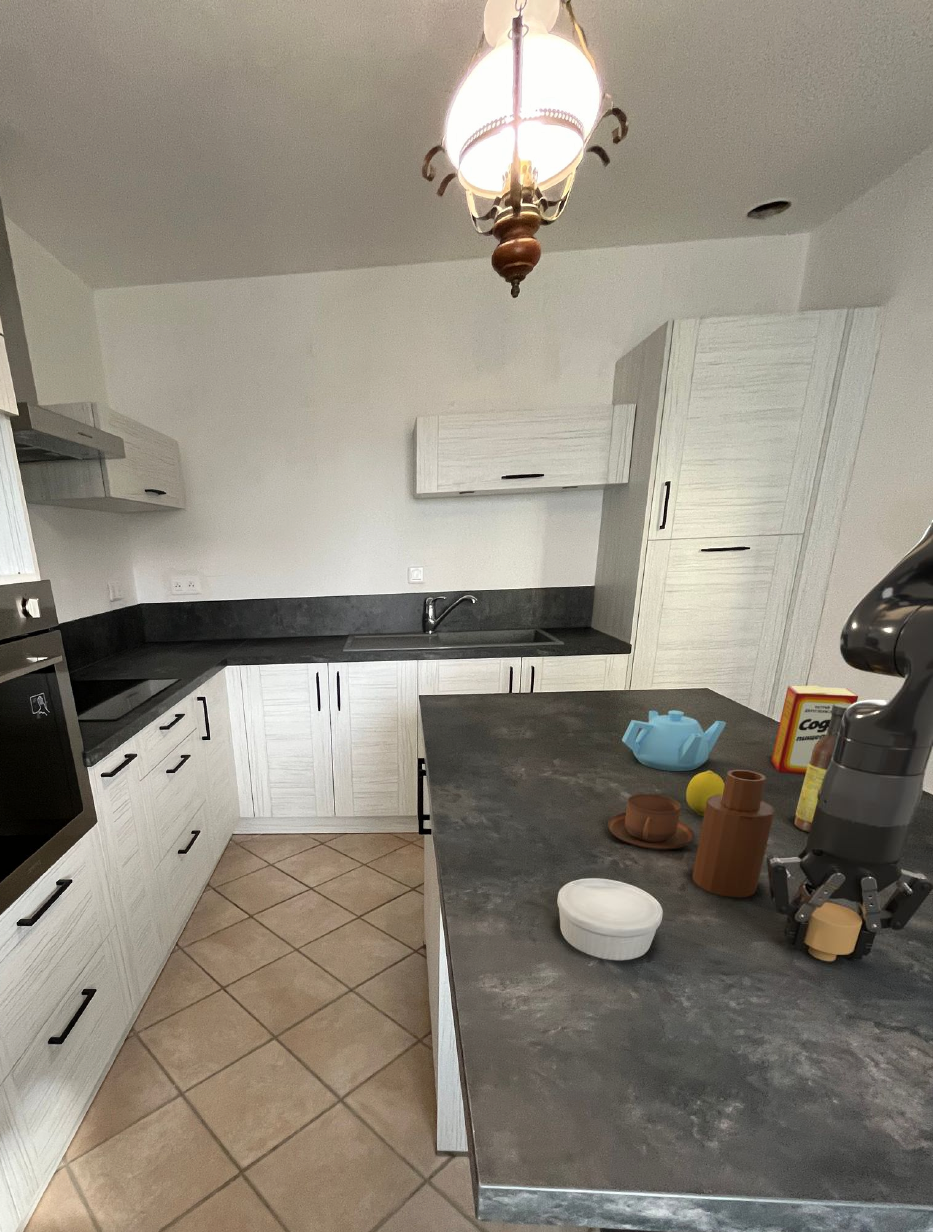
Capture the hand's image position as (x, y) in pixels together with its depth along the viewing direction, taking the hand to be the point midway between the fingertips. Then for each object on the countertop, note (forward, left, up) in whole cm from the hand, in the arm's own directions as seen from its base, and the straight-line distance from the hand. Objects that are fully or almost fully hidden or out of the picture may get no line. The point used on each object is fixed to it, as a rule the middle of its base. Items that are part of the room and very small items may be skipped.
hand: (823, 949), depth 67 cm
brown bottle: (+7, -14, -1) cm, 16 cm away
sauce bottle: (-10, -38, -2) cm, 39 cm away
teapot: (+8, -67, -2) cm, 67 cm away
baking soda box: (-16, -69, -2) cm, 71 cm away
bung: (0, 0, -1) cm, 1 cm away
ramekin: (+22, +3, -2) cm, 22 cm away
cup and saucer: (+15, -27, -2) cm, 31 cm away
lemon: (+6, -39, -2) cm, 39 cm away
